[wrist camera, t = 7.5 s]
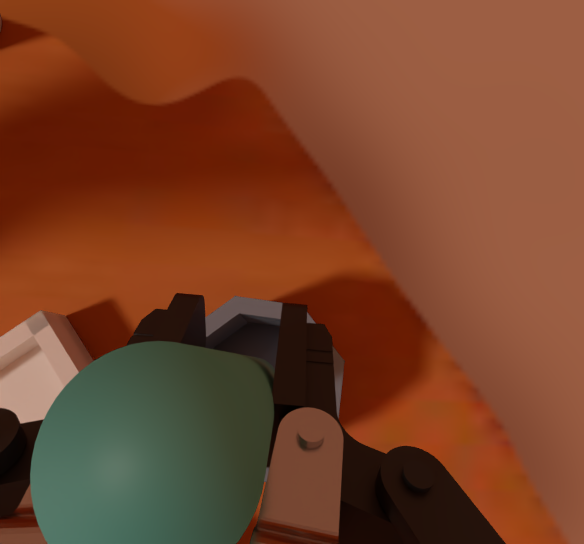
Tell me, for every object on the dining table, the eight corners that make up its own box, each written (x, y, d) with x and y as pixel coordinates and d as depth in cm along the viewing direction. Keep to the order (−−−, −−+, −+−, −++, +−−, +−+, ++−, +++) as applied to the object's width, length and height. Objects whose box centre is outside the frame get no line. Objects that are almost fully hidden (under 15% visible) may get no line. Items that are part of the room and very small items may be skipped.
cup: (169, 366, 23) (135, 367, 18) (276, 288, 25) (273, 267, 19) (246, 482, 22) (234, 521, 17) (355, 393, 23) (377, 402, 18)
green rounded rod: (215, 378, 18) (-12, 434, 4) (258, 346, 18) (183, 298, 4) (246, 423, 17) (107, 656, 4) (289, 389, 18) (312, 483, 4)
